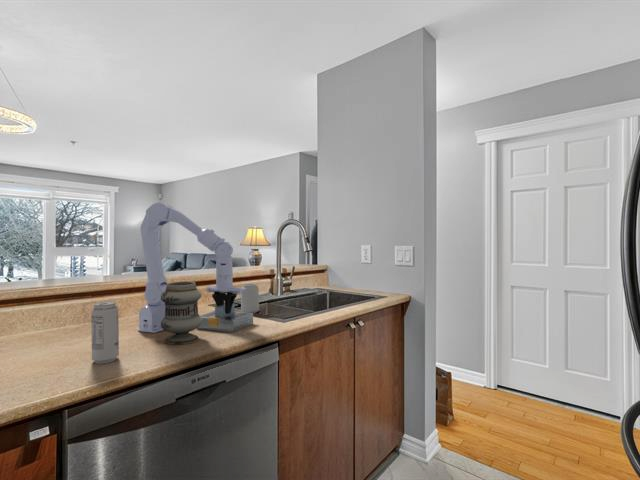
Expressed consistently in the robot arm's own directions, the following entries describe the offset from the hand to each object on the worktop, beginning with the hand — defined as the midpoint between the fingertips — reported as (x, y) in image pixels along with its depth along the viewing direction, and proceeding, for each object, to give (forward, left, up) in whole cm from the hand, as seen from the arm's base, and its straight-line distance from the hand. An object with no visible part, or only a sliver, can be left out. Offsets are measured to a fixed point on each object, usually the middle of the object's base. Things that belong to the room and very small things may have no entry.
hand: (224, 312), depth 125 cm
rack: (0, 0, -5) cm, 5 cm away
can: (+23, +4, -5) cm, 24 cm away
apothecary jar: (-19, +2, -5) cm, 20 cm away
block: (0, 0, -3) cm, 3 cm away
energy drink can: (-40, +8, -5) cm, 41 cm away
